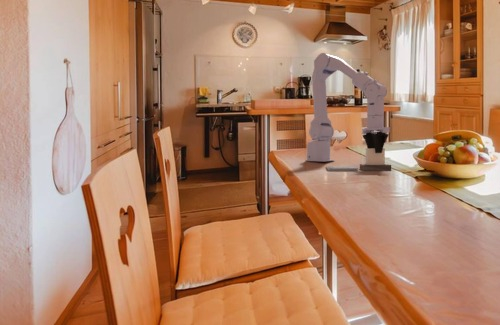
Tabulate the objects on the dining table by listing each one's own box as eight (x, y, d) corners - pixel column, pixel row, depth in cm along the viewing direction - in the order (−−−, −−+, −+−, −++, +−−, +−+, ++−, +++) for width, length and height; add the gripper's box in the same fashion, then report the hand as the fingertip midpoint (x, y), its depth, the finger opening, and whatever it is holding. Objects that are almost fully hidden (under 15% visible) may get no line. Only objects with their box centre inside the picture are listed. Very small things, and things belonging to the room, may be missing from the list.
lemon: (436, 170, 115) (436, 147, 115) (419, 170, 116) (419, 148, 116) (431, 169, 121) (431, 147, 120) (414, 169, 122) (415, 147, 121)
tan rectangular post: (365, 169, 124) (365, 148, 123) (381, 169, 124) (381, 148, 123) (368, 170, 121) (368, 148, 120) (384, 170, 121) (384, 148, 120)
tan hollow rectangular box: (359, 169, 126) (359, 164, 126) (385, 169, 125) (385, 163, 125) (363, 170, 120) (363, 165, 119) (391, 170, 119) (391, 164, 118)
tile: (329, 171, 119) (329, 168, 119) (325, 169, 129) (325, 166, 129) (357, 171, 118) (357, 168, 118) (352, 168, 128) (352, 166, 128)
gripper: (355, 117, 127) (355, 152, 128) (377, 114, 113) (376, 153, 114) (371, 117, 129) (371, 152, 130) (395, 114, 115) (394, 153, 116)
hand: (374, 152), depth 122 cm, fingers open, 4 cm apart
